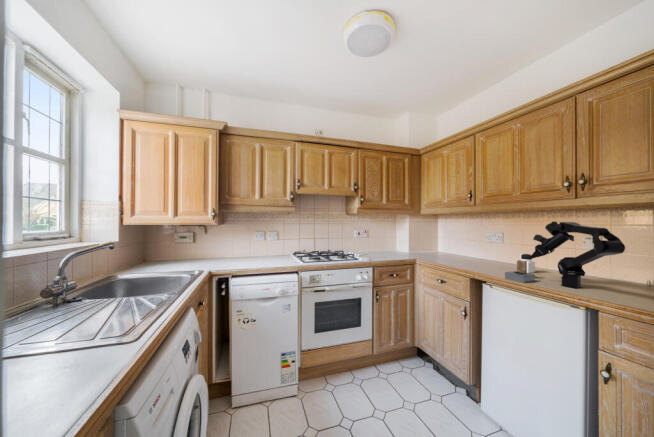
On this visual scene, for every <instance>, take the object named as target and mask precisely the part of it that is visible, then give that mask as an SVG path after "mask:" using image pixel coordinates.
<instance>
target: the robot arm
mask: <svg viewBox="0 0 654 437" xmlns="http://www.w3.org/2000/svg"><path fill="white" fill-rule="evenodd" d="M544 228H545V230H546V231H547V232H548V233H549V234H550V235H551V237H548V238H547V237H546V236H545V237H544V236H543V235H541V234H535V235H534V236H533V239H532V240H533V241H537V242H539V244H537V245H535V246H534V252H533V253H532V254H530V255H531V256H530V257H529V258H530V259H535V258H540V257H544V256H547V255H550V254H552V253H554V252H555V250H556V249H557V248H559V247H561V245H563V244H565V243H566V242H568V241H569V240H570V241H571V242H574V241H575V236H574V235H572V234H569V233H577V234H583V235H590V236H592V239H591V240H592V241H591V243H592V245H593V248H591V249H590V250H587V251H585V252H584V253H581V254H579V255H577V256H574V257H573V256H566V257H563V258H562V259H559V261H558V262H557V269H558V272H559V274H560V275H562V276H561V284H560V286H562V287H565V288H566V287H567V288H572V289H581V288H583V285H582V283H581V282H582V277H585V275H586V271H584V268H583V266H584V265H588V264H589V263H591V262H593V261H596V260H598V259H600V258H603V257H606V256H615V255H620V254H623V253H624V252H625V250H626V246H625V244H624V243H623V241H622V240H621V238H619V236H617V235H615V234H613V233H612V232H611V231H609V229H608V228H606V227H597V226H588V225H582V224H580V223H578V222H575V221H574V222H573V221H564V222H563V221H560V222H559V223H558V221H551V222H550V223H548V224H546V225H545V227H544ZM600 237H603V238H604V239H605V240H603V239H602V240H601V238H600Z"/></svg>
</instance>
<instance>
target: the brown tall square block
mask: <svg viewBox="0 0 654 437" xmlns="http://www.w3.org/2000/svg"><path fill="white" fill-rule="evenodd" d="M516 271H519V272H525V273H527V261H521V260H519V259H518V260H516Z"/></svg>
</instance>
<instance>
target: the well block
mask: <svg viewBox="0 0 654 437" xmlns="http://www.w3.org/2000/svg"><path fill="white" fill-rule="evenodd" d="M504 279H505V280H509V281H514V282H518V283H523V284H526V283H531V282H535V274H534V273H525V272H519V271H517V270H513V271H505V272H504Z"/></svg>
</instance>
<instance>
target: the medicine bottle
mask: <svg viewBox="0 0 654 437" xmlns="http://www.w3.org/2000/svg"><path fill="white" fill-rule="evenodd" d="M531 255H532V254H530V253H521V254H520V260H521V261H527V273H530V274H534V273H535V272H536V262H535V261H532V259H530V258H529V257H530V256H531Z"/></svg>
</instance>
